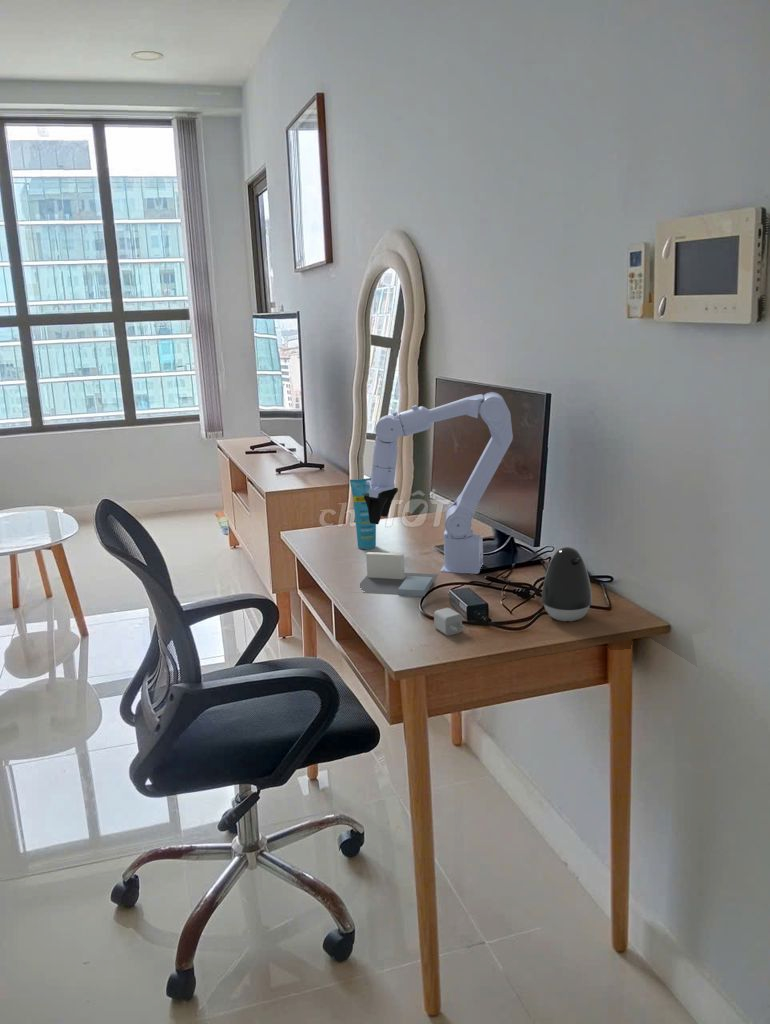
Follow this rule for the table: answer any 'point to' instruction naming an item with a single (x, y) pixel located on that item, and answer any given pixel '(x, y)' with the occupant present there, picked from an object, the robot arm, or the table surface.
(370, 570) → the cream board
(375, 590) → the mat
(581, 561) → the grey egg shaped device
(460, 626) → the usb wall charger
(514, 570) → the table surface
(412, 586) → the slate board
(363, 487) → the tube
